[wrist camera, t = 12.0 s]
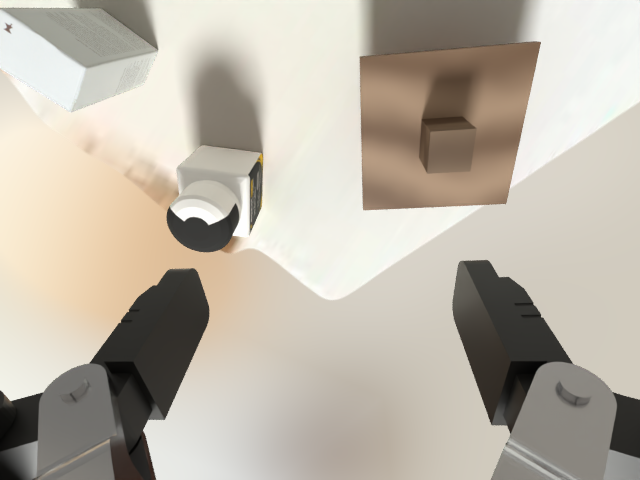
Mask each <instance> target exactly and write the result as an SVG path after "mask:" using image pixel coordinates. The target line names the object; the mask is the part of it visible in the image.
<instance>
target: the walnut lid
mask: <svg viewBox="0 0 640 480" xmlns="http://www.w3.org/2000/svg"><path fill="white" fill-rule="evenodd" d="M540 44H541V42H536V41H534V42H522V43H511V44H499V45H488V46H476V47H465V48H453V49H441V50H430V51H418V52H407V53H395V54H384V55H372V56H361V57H360V92H361V139H362V186H363V210H379V209H401V208H424V207H446V206H468V205H489V204H506V202H507V197H508V193H509V188H510V183H511V179H512V174H513V170H514V165H515V160H516V156H517V151H518V146H519V142H520V137H521V132H522V128H523V123H524V118H525V114H526V109H527V104H528V100H529V95H530V90H531V86H532V81H533V77H534V72H535V67H536V63H537V58H538V53H539V49H540Z"/></svg>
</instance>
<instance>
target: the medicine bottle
mask: <svg viewBox="0 0 640 480" xmlns="http://www.w3.org/2000/svg"><path fill="white" fill-rule="evenodd" d="M262 170H263V155H262V153H260V152H252V151H244V150H236V149H229V148H221V147H213V146H205V145H201V146H200V147H199V148H198V149H197V150H196V151H194V152H193V153H192V154H191V155H190V156H189V157H188V158H187V159H186V160H185V161H183V162H182V163H181V164H180V165H179V166H178V167H177V178H178V187H179V196H178V197H177V198H176V199H175V200H174V201H173V202H172V204H171V205H170V207H169V209H168V211H167V224H168V227H169V229H170V231H171V233H172V234H173V236H174V237H175V238H176V239H177V240H178V241H179V242H180V243H181V244H183V245H184V246H186V247H187V248H190V249H192V250H195V251H199V252H214V251H217V250H220V249H222V248H223V247H225V246H226V245H227V244H228V242H229V241H230V239H231V237H232V235H234V236H242V237H248V236H249V235H250V232H251V230H252V228H253V225H254V223H255V221H256V219H257V216H258V214H259V212H260V209H261V207H262Z"/></svg>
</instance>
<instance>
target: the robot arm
mask: <svg viewBox="0 0 640 480" xmlns="http://www.w3.org/2000/svg"><path fill="white" fill-rule="evenodd" d="M453 316H454V320H455V324H456V326H457V329H458V332H459V335H460V337H461V340H462V343H463V346H464V349H465V352H466V354H467V357H468V360H469V363H470V366H471V369H472V371H473V374H474V377H475V380H476V383H477V386H478V388H479V391H480V394H481V397H482V400H483V402H484V405H485V408H486V411H487V414H488V417H489V419H490V422H491V425H507V426H508V429H509V431H510V434H511V435H510V437H509V439H508V442H507V443H506V445H505V447H504V449H503V452H502V454H501V456H500V459H499V461H498V464H497V466H496V469H495V471H494V474H493V476H492V478H491V480H640V400H638V399H634V398H630V397H626V396H623V395H620V394H616V393H614V392H612V391H611V390H610V388H609V387H608V386H607V385H606V384H605V383H604V382H603V381H602V380H601V379H600V378H598V377H597V376H596V375H595V374H593V373H591V372H590V371H588V370H586V369H584V368H582V367H579V366H577V365H574V364H573V363H572V361H571V360H570V358H569V357H568V355H567V354H566V352H565V351H564V350H563V348H562V346H561V345H560V343H559V341H558V340H557V338H556V337H555V335H554V334H553V332H552V331H551V329H550V328H549V326H548V325H547V323H546V322H545V320H544V318H541V314H540V312H539V311H538V309H537V308H536V307H535V306H534V305H533V302H532V300H531V298H530V297H529V295H528V294H527V292H526V291H525V289H524V288H522V287H521V286H520V285H518V284H517V283H516V282H515V281H513V280H512V279H511V278H509V277H498V275H497V273H496V272H495V270H494V268H493V266H492V265H491V263H490V262H489V261H488V260H479V261H460V262H459V265H458V270H457V276H456V283H455V290H454V296H453ZM208 320H209V305H208V302H207V299H206V296H205V293H204V290H203V287H202V284H201V281H200V278H199V275H198V272H197V271H196V270H195V269H193V268H191V269H170V270H168V271H167V272H166V273H165V275H164V276H163V278H162V279H161V280H160V282H159V283H158V285H157V286H152V287H150V288H149V289H148V290H147V291H145V292H144V293H143V294H141V295H140V296H139V297H138V298H137V299H136V301H135V302H134V304H133V305H132V306H131V308H130V309H129V312H127V313H126V315H125V316H124V317H123V319H122V320H121V323H119V324H118V325H117V327H116V328H115V329H114V331H113V332H112V333H111V335H110V336H109V337H108V339H107V340H106V342H105V343H104V344H103V346H102V347H101V348H100V350H99V351H98V353H97V354H96V355H95V356H94V358H93V359H92V361H91V362H90V363H89V364H84V365H81V366H77V367H75V368H72V369H70V370H69V371H67V372H65V373H63V374H62V375H60V376H59V377H58V378H56V379H55V380H54V381H53V382H52V383H51V384H50V385H49V386H48V387H47V388H46V390H45V391H44V392H43V393H40V394H36V395H32V396H28V397H25V398H21V399H17V400H14V401H10V400H9V399H8V398H7V397H6V396H5V395H4V394H3V392H1V391H0V480H156V477H155V473H154V468H153V465H152V460H151V456H150V452H149V448H148V444H147V440H146V436H145V433H144V432H143V429H144V427H145V425H146V423H147V421H148V420H165V418H166V416H167V414H168V411H169V409H170V407H171V405H172V402H173V400H174V398H175V396H176V393H177V391H178V389H179V387H180V384H181V382H182V380H183V378H184V376H185V373H186V371H187V369H188V367H189V364H190V362H191V360H192V357H193V355H194V353H195V351H196V349H197V347H198V344H199V342H200V340H201V338H202V335H203V333H204V331H205V329H206V326H207V324H208Z"/></svg>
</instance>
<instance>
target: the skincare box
mask: <svg viewBox="0 0 640 480" xmlns="http://www.w3.org/2000/svg"><path fill="white" fill-rule="evenodd" d="M157 53H158V50H157V49H156V48H154V47H153V46H152V45H150V44H149V43H148V42H146V41H145V40H143V39H142V38H141V37H139V36H138V35H137V34H135V33H134V32H133V31H131V30H130V29H129V28H127V27H126V26H124V25H123V24H122V23H120V22H119V21H118V20H116V19H115V18H114V17H112V16H111V15H109V14H108V13H107V12H105V11H104V10H103V9H101V8H0V69H2V70H3V71H5V72H6V73H8V74H10V75H11V76H13V77H14V78H16V79H18V80H19V81H21V82H22V83H24V84H26V85H27V86H29V87H31V88H32V89H34V90H35V91H37V92H39V93H40V94H42V95H43V96H45V97H47V98H48V99H50V100H51V101H53V102H55V103H56V104H58V105H59V106H61V107H63V108H64V109H66V110H67V111H69V112H73V111H76V110H79V109H81V108H84V107H86V106H89V105H92V104H94V103H97V102H100V101H102V100H105V99H107V98H110V97H113V96H115V95H118V94H121V93H123V92H126V91H129V90H131V89H134V88H137V87H139V86H142V85H143V84H144V83H145V80H146V78H147V75H148V73H149V71H150V68H151V66H152V64H153V62H154V60H155V57H156V55H157Z"/></svg>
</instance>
